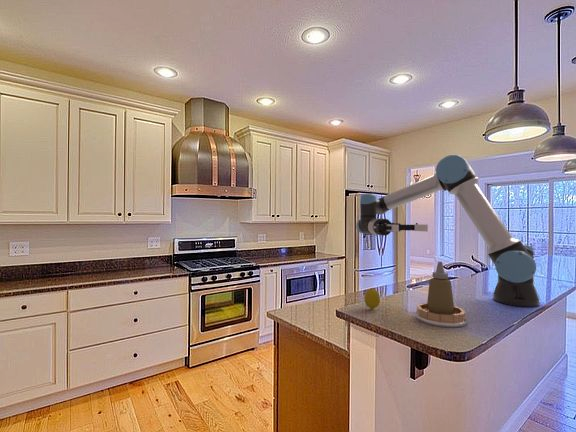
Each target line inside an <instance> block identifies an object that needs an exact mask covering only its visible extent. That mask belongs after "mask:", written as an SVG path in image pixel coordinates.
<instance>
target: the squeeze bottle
mask: <svg viewBox="0 0 576 432" xmlns="http://www.w3.org/2000/svg"><path fill="white" fill-rule="evenodd" d="M443 264H444V263H443V262H442V261H438V262H437V266H436V270H435V271H433V272H432V278H430V279H429V283H428V294H427V300H426V301H427V302H426V303H427V305H428V308H429V311H430V312H434V313H439V314H452V311H453V309H454V306H455V304H454V294H453V288H452V281H451V280H450V279H448V278H449V273H448V272H446V271H445V268H444V265H443Z"/></svg>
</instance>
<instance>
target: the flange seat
mask: <svg viewBox="0 0 576 432" xmlns="http://www.w3.org/2000/svg"><path fill="white" fill-rule="evenodd" d="M415 318H416V320H417V321H419V322H421V323H423V324H426V325H429V326H434V327H440V328H446V329H447V328H448V329H449V328H452V329H455V328H456V329H457V328H458V329H459V328H463V327H465V326H466V325H467V318H466V310H465V309H463V308H462V307H458V306H456V305H454V309H453V311H452V314H439V313H434V312H430V311H429V308H428V305H427V302H425V303H419V304H418V305H416V313H415Z"/></svg>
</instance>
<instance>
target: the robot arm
mask: <svg viewBox="0 0 576 432" xmlns="http://www.w3.org/2000/svg"><path fill="white" fill-rule="evenodd" d="M478 180H479V177H478V176H477V174H476V172H475V171H474V169H473V168H472V166H471V164H470V163H469V162H468V160H467V159H466V158H465V157H464V156H462V155H459V154H448V155H446V156H444V157H442V158H441V159H440V160H439V161H438V163H437V164H436V166H435V172H434V174H433V175H431V176H429V177H426V178H424V179H422V180H419V181H417V182H415V183H411V185H408V186H405V187H403V188H400V189H397V190H396V191H393V192H391V193H389V194H386V195H384V196H381V197H379V198H377V195H376V194H375V193H364V194H360V201H359V203H360V218H359V220H358V221H357V223H356V230H357V231H358V233H360V234H364V235H371V236H372V235H374V236H375V237H378V236H383V237H385V236H388V235H390V233H394V232H397V233H399V232H401V231H413V232H414V231H415V232H428V231H429V230H428V228H429V227H428V226H429V224H418V222H415V224H401V223H399V222H398V223H396V222H391V221H390V219H388V218H377V216H378V215H384V214H385V213H387V212H388V211H390V210H394V209H396V208H398V207H401V206H403V205H407V204H408V203H411V202H414V201H416V200H419V199H421V198H424V197H426V196H429V195H431V194H433V193H436V192H439V191H443V192H445V191H446V192H447V191H448V193H449V194H451V195H454V196H456V198H457V200H458V201H459V203H460V205H461V206H462V208H463V210H464V211H465V213H466V215H467V216H468V217H469V219H470V220H471V223H472V224H473V226H474V227H475V228H476V230H477V231H478V233H479V234H480V236H481V238H482V239H483V241H484V243H485V244H486V245H487V248H488V249H487V252H486V253H487V255H488V257H489V259H490V260H491V262H492V263H493V265H494V267H495V272H496V273H497V282H496V286H495V288H494V292H493V293H492V297H493V298H492V299H493V300H494V302H497V303H501V304H504V305H505V304H506V305H511V306H517V307H527V308H529V307H532V308H533V307H539V306H540V297H539V295H538V293H537V290H536V288H535V283H534V282H535V281H534V280H535V279H534V275H536V274H535V273H536V271H537V263H536V261H535V259H534V255H535V251H534V248H533V246H530V245H527V244H526V245H525V244H523V242H522V241H521V240H520V239H517V238H514V237H513V236H512V234H511V233H510V231H509V230H508V229H507V228H508V227H506V226H505V224H504V223H503V221H502V219H501V217H500V216H499V215H498V213H497V211H496V210H495V209H494V207H493V206H492V205H491V203H490V201H489V200H488V199H487V197H486V196H485V194H484V193H483V191H482V190H481V188H480V186H479V185H478V182H479V181H478Z"/></svg>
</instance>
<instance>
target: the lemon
mask: <svg viewBox="0 0 576 432" xmlns="http://www.w3.org/2000/svg"><path fill="white" fill-rule="evenodd" d="M380 302H381V297H380V294H379V292H378V290H377V289H375V288H373V287H371V288H369V289H367V290H366V291H365V293H364V303H365V306H366V307H368V308H370V310H375V309H376V308H378V306H379V305H380Z"/></svg>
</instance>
